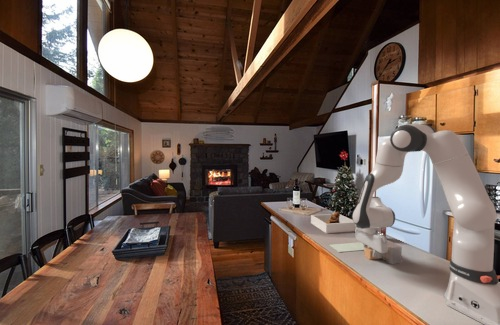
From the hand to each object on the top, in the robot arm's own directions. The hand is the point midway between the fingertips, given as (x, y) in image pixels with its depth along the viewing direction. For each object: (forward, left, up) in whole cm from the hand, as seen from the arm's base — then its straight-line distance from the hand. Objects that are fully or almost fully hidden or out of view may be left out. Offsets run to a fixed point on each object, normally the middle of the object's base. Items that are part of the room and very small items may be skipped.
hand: (370, 254), depth 126 cm
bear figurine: (+47, -6, -2) cm, 47 cm away
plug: (0, -7, -2) cm, 7 cm away
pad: (+14, +2, -2) cm, 14 cm away
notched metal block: (0, -8, -2) cm, 8 cm away
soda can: (+22, -23, -2) cm, 32 cm away
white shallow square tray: (+50, -8, -2) cm, 51 cm away
